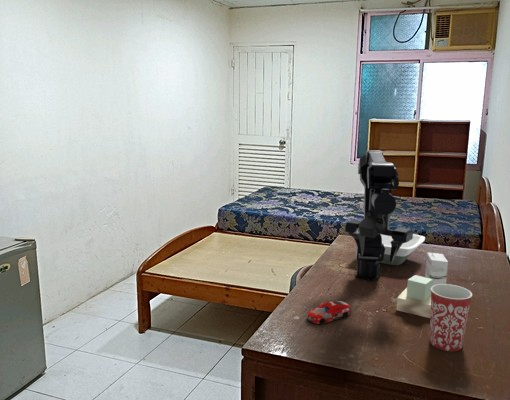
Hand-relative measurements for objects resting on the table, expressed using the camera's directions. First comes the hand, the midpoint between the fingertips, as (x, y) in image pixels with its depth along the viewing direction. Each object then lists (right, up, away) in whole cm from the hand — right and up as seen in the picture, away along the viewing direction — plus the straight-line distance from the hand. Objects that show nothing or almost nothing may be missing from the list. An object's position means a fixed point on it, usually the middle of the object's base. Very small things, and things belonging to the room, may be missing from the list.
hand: (376, 259), depth 134 cm
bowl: (+15, -5, +37) cm, 40 cm away
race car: (-16, -15, -11) cm, 24 cm away
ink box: (+19, -11, +6) cm, 23 cm away
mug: (+11, -17, -23) cm, 31 cm away
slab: (+10, -14, -5) cm, 18 cm away
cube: (+11, -10, -6) cm, 15 cm away
